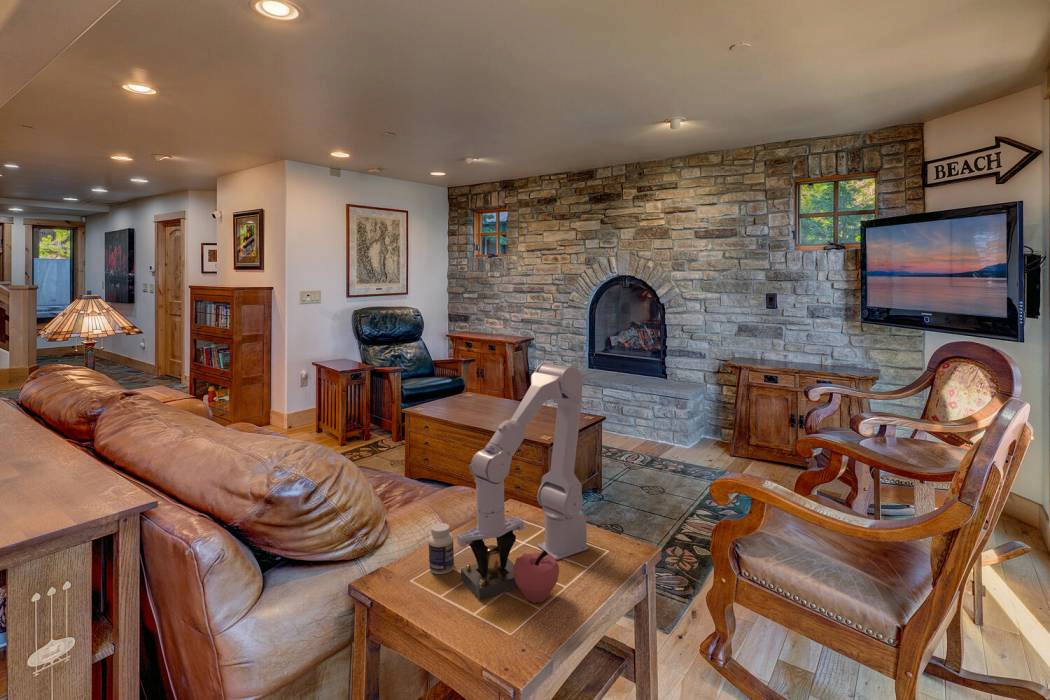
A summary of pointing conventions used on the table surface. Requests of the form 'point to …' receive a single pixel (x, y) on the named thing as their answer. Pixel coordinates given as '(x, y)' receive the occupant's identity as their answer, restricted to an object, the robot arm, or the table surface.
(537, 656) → the table surface
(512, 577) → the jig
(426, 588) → the table surface
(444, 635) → the table surface
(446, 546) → the pill bottle
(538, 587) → the apple
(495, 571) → the brass cylinder
